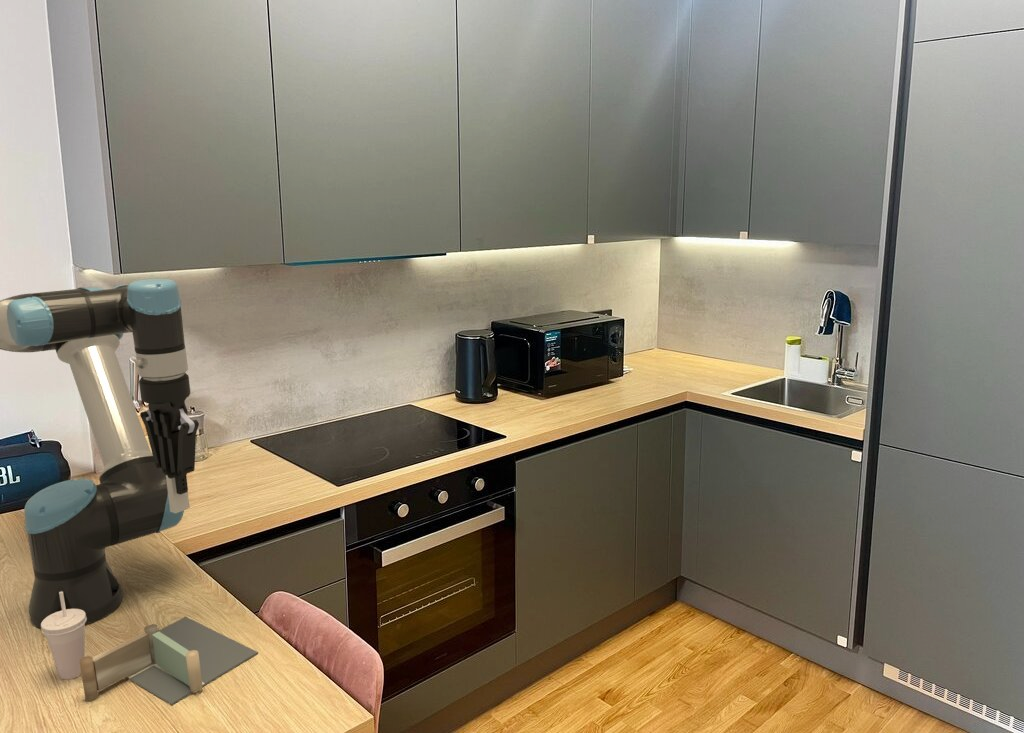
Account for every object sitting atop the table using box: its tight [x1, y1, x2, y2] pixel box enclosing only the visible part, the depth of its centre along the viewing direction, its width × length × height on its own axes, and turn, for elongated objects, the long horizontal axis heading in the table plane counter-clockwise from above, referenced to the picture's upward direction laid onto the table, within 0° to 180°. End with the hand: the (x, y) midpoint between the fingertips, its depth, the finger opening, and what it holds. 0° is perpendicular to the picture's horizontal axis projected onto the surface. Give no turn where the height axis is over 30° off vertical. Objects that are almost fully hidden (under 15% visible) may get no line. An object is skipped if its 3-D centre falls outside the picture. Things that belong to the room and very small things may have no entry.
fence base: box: [79, 623, 159, 702], centre depth 129 cm, size 2×13×7 cm, turn 145°
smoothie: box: [40, 592, 87, 680], centre depth 130 cm, size 6×6×14 cm
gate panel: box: [152, 632, 204, 693], centre depth 129 cm, size 12×2×6 cm, turn 52°
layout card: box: [124, 616, 259, 706], centre depth 135 cm, size 20×16×1 cm
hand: (180, 509), depth 139 cm, fingers closed
